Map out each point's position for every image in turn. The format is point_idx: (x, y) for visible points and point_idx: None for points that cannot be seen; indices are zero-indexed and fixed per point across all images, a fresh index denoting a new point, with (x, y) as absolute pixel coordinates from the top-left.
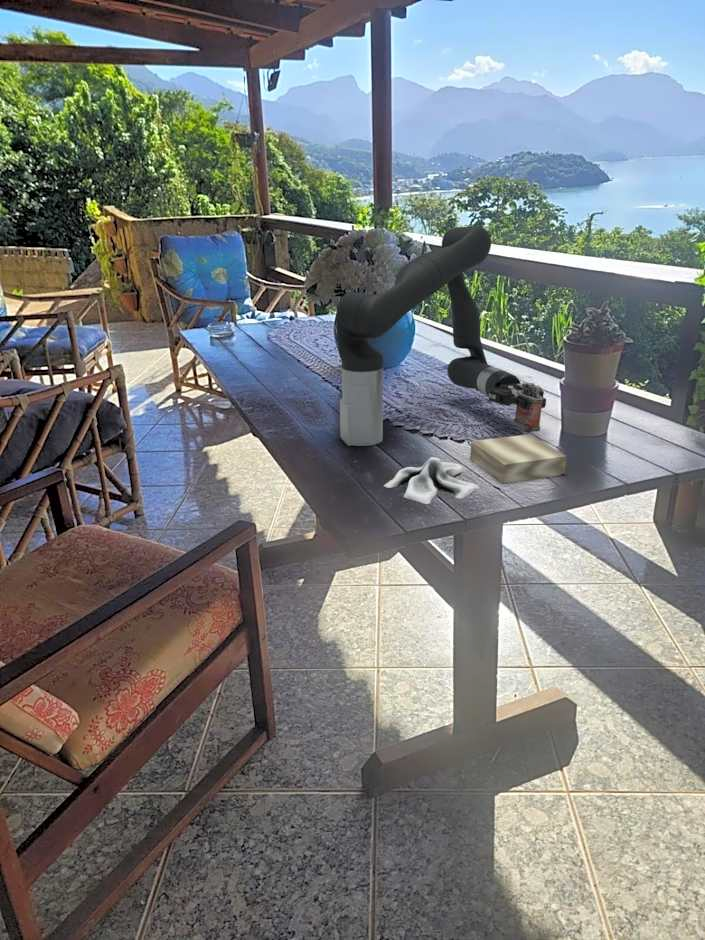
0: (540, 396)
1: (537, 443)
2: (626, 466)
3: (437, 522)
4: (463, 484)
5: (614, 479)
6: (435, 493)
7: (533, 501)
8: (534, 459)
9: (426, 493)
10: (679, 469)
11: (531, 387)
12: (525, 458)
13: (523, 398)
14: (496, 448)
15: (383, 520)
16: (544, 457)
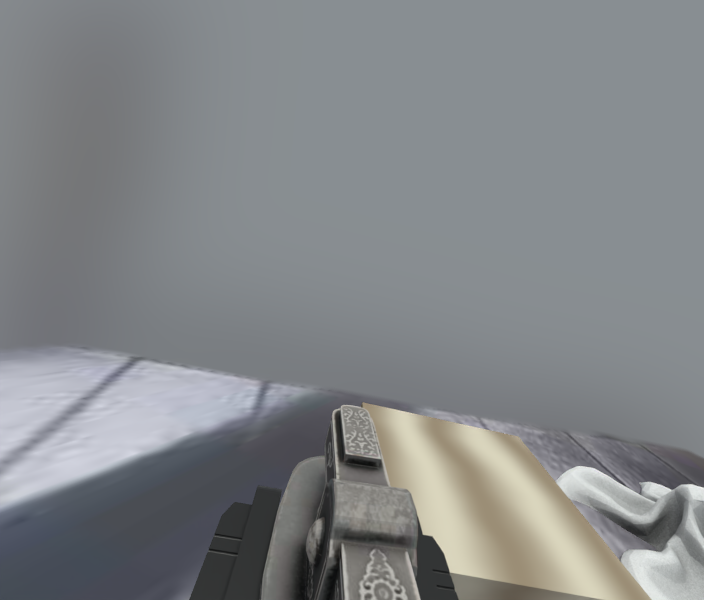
0: (286, 499)
1: (394, 477)
2: (175, 406)
3: (603, 441)
4: (593, 485)
5: (268, 394)
6: (642, 490)
7: (455, 417)
8: (443, 423)
9: (660, 490)
10: (99, 358)
11: (384, 470)
12: (463, 434)
13: (428, 559)
14: (540, 507)
15: (692, 475)
16: (416, 419)
